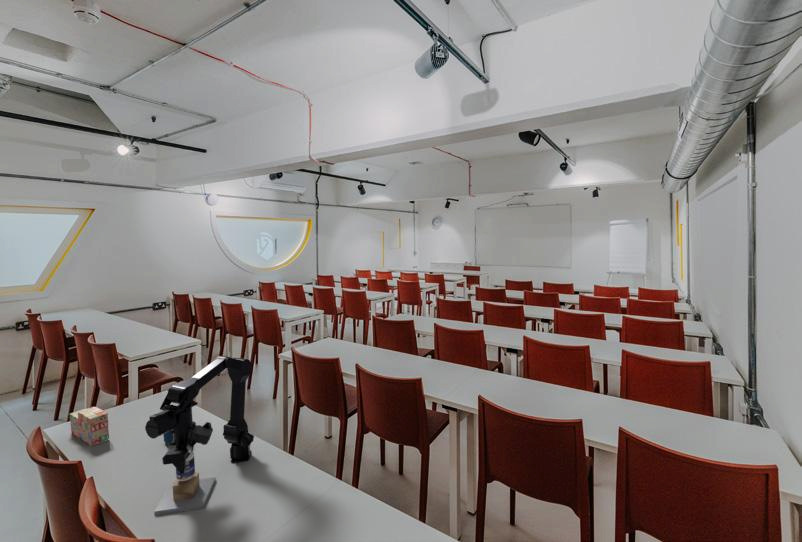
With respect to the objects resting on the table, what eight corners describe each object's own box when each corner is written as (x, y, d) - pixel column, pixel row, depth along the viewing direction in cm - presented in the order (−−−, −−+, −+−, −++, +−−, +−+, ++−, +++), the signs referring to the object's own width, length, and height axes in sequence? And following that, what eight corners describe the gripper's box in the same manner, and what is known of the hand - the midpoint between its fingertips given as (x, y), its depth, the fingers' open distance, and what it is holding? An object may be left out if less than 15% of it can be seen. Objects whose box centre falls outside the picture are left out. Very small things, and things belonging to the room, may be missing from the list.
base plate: (215, 480, 132) (215, 477, 132) (203, 508, 119) (202, 504, 118) (172, 485, 129) (172, 482, 129) (154, 515, 116) (154, 511, 116)
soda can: (183, 442, 157) (182, 414, 156) (164, 447, 154) (162, 419, 152) (182, 435, 163) (180, 408, 162) (163, 439, 159) (162, 413, 158)
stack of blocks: (70, 433, 165) (68, 407, 164) (88, 427, 170) (86, 401, 169) (92, 446, 154) (89, 418, 153) (109, 439, 160) (107, 412, 159)
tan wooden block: (199, 486, 127) (198, 472, 127) (193, 497, 122) (192, 483, 121) (180, 488, 126) (179, 474, 126) (173, 500, 120) (172, 486, 120)
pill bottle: (182, 483, 120) (180, 455, 119) (173, 478, 123) (171, 450, 122) (198, 474, 124) (196, 447, 123) (189, 469, 127) (188, 442, 126)
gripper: (200, 434, 114) (203, 482, 116) (217, 407, 132) (219, 449, 134) (160, 439, 112) (163, 487, 113) (182, 410, 130) (185, 453, 132)
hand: (185, 467), depth 123 cm, fingers closed on pill bottle, 5 cm apart
